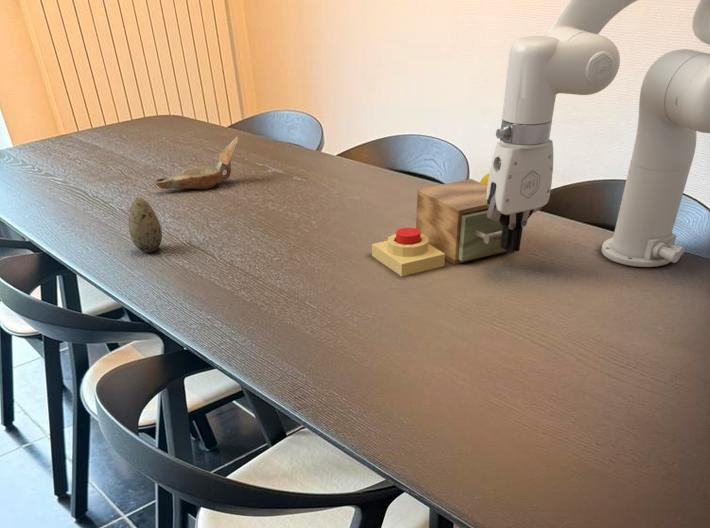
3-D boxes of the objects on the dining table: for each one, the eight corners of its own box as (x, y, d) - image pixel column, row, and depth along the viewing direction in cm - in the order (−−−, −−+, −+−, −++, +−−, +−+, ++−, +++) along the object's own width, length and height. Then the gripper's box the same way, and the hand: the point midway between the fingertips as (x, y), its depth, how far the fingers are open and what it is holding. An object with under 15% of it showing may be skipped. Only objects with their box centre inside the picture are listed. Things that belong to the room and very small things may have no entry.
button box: (444, 266, 121) (445, 244, 119) (401, 276, 118) (402, 254, 116) (412, 246, 129) (413, 225, 126) (371, 255, 126) (371, 234, 123)
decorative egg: (128, 255, 129) (115, 201, 123) (145, 244, 134) (133, 191, 127) (154, 258, 128) (142, 204, 121) (171, 247, 132) (160, 194, 126)
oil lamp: (248, 185, 161) (243, 139, 155) (160, 199, 155) (151, 152, 148) (238, 175, 167) (232, 131, 161) (152, 189, 161) (143, 143, 154)
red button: (424, 243, 120) (425, 233, 119) (403, 247, 119) (403, 238, 118) (412, 235, 123) (412, 225, 122) (391, 240, 122) (391, 230, 121)
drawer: (526, 257, 121) (533, 213, 116) (476, 270, 117) (481, 225, 112) (471, 228, 132) (475, 187, 127) (424, 239, 129) (426, 197, 124)
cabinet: (508, 251, 125) (515, 198, 119) (454, 264, 122) (458, 210, 115) (466, 229, 135) (471, 178, 129) (415, 240, 131) (417, 189, 125)
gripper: (501, 144, 99) (487, 265, 111) (579, 130, 104) (558, 247, 116) (471, 134, 104) (461, 251, 116) (546, 121, 109) (529, 234, 121)
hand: (509, 249), depth 116 cm, fingers closed
